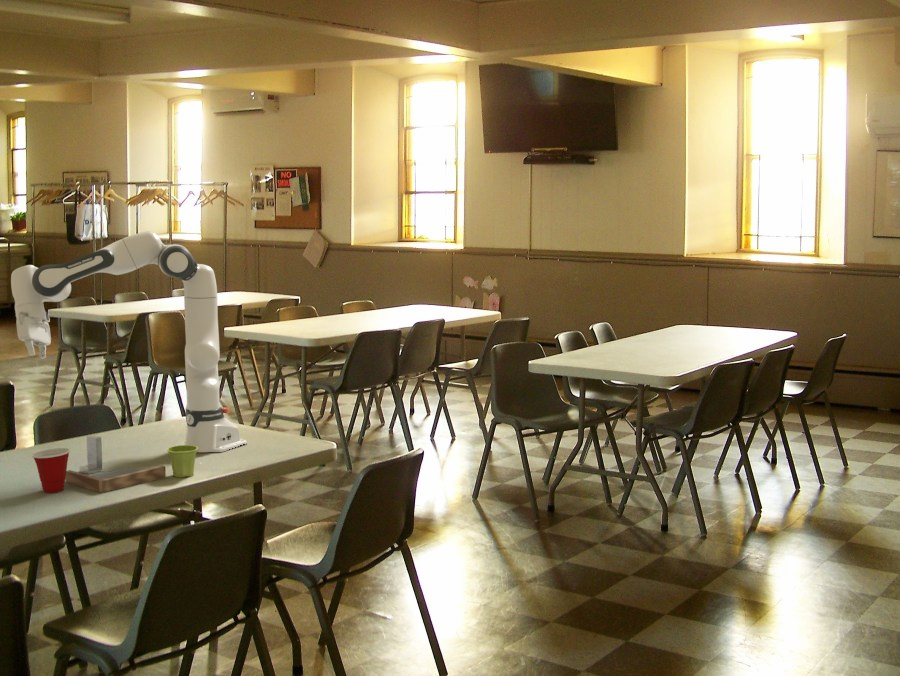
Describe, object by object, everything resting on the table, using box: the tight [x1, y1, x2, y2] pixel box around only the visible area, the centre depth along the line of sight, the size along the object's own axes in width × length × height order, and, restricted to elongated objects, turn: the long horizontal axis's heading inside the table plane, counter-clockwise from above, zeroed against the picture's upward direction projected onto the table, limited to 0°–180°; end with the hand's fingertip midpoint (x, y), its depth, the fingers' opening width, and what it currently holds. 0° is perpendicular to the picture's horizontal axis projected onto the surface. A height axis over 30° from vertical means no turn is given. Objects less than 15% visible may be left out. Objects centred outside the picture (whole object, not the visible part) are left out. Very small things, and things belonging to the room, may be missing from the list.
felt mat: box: [92, 466, 141, 479], centre depth 334 cm, size 20×16×1 cm
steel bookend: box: [79, 434, 103, 475], centre depth 342 cm, size 5×5×11 cm
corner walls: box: [65, 465, 167, 493], centre depth 332 cm, size 23×19×4 cm
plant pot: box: [166, 444, 198, 479], centre depth 338 cm, size 9×9×9 cm
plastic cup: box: [31, 447, 71, 494], centre depth 320 cm, size 11×11×12 cm
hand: (37, 356), depth 348 cm, fingers open, 8 cm apart
